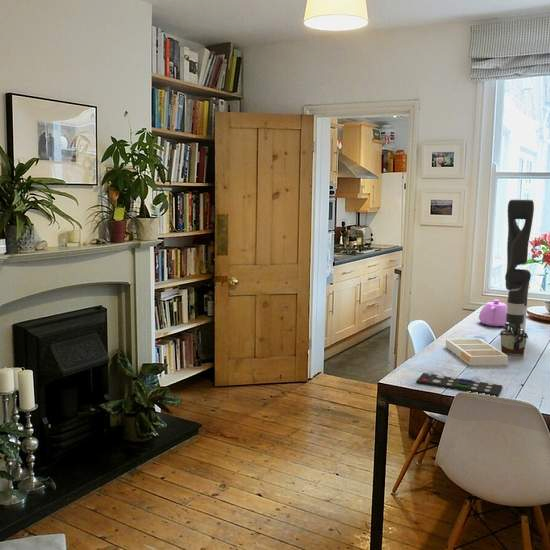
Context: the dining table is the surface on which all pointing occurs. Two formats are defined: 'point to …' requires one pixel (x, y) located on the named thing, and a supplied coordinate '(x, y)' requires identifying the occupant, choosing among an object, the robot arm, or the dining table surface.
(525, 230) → the robot arm
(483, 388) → the remote control
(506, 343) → the food container
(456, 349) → the cream compartment tray
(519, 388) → the dining table surface
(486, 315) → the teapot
